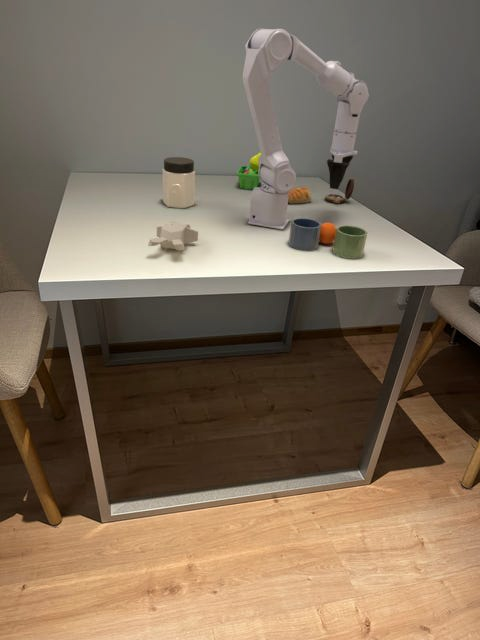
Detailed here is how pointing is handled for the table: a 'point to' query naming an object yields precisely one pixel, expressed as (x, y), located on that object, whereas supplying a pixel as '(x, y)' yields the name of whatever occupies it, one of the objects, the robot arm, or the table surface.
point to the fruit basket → (249, 174)
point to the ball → (327, 233)
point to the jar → (178, 182)
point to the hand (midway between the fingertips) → (335, 185)
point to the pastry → (299, 195)
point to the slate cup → (304, 234)
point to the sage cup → (349, 242)
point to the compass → (339, 198)
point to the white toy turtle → (174, 236)
